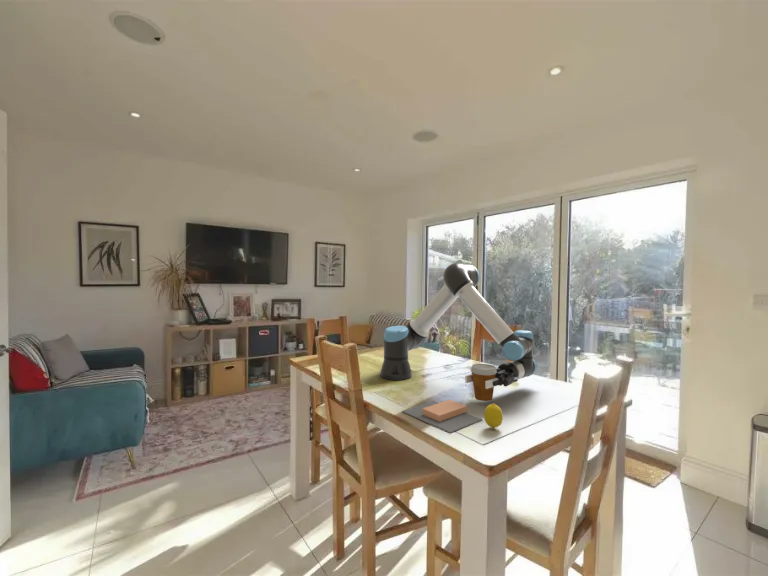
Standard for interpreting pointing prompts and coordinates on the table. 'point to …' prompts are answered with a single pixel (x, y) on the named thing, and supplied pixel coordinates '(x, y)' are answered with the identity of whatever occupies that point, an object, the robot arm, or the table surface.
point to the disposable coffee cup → (483, 380)
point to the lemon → (493, 416)
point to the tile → (444, 410)
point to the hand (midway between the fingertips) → (475, 382)
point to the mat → (446, 425)
